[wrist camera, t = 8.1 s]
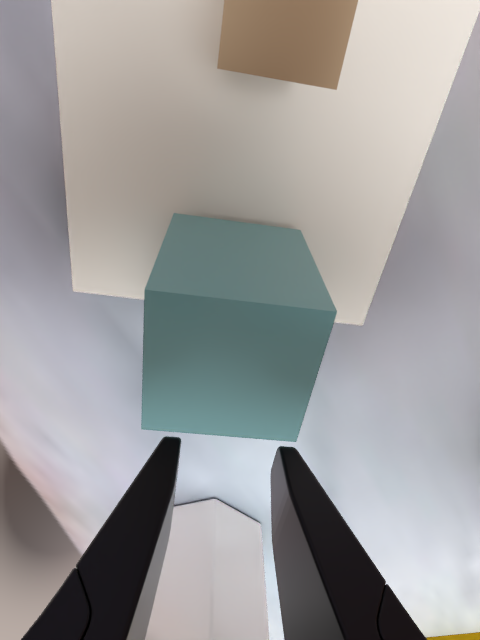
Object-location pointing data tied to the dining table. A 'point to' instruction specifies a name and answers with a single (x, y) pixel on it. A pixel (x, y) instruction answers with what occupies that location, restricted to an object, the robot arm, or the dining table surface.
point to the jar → (211, 577)
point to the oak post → (287, 39)
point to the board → (244, 136)
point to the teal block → (232, 330)
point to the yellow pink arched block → (457, 637)
